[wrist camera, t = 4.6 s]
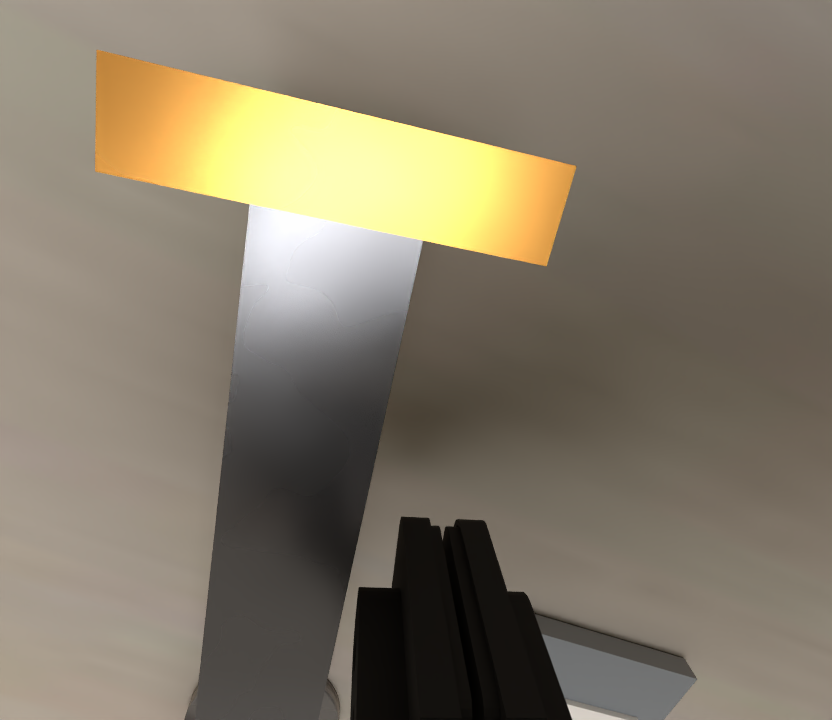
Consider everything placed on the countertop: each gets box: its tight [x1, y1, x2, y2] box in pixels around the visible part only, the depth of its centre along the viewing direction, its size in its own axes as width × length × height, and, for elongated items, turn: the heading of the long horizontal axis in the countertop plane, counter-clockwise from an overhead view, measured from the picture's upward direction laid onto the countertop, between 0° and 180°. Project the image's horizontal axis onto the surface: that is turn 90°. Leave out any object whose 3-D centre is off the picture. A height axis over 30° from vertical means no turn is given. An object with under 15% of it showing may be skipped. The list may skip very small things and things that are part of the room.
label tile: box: [535, 614, 697, 720], centre depth 19 cm, size 8×6×1 cm
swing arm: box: [95, 50, 576, 720], centre depth 10 cm, size 16×4×4 cm, turn 168°
